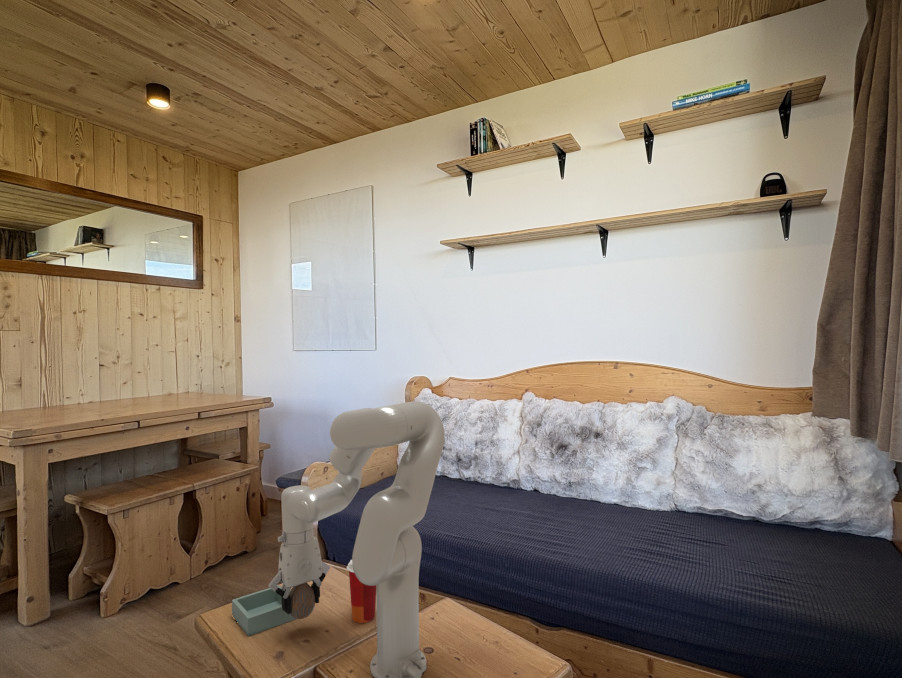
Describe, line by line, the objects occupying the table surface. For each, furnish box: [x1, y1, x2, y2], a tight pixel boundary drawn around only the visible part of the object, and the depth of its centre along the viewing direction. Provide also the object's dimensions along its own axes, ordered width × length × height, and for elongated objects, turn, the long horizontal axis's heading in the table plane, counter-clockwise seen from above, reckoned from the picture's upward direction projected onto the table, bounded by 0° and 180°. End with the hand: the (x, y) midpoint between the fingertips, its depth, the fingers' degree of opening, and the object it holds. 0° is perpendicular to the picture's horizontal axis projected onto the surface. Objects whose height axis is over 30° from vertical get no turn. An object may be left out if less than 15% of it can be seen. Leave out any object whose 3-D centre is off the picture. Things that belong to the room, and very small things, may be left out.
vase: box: [289, 582, 316, 620], centre depth 129 cm, size 7×7×9 cm
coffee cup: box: [346, 559, 377, 624], centre depth 136 cm, size 8×8×15 cm
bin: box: [231, 584, 296, 638], centre depth 137 cm, size 13×13×4 cm
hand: (301, 606), depth 129 cm, fingers closed on vase, 6 cm apart
